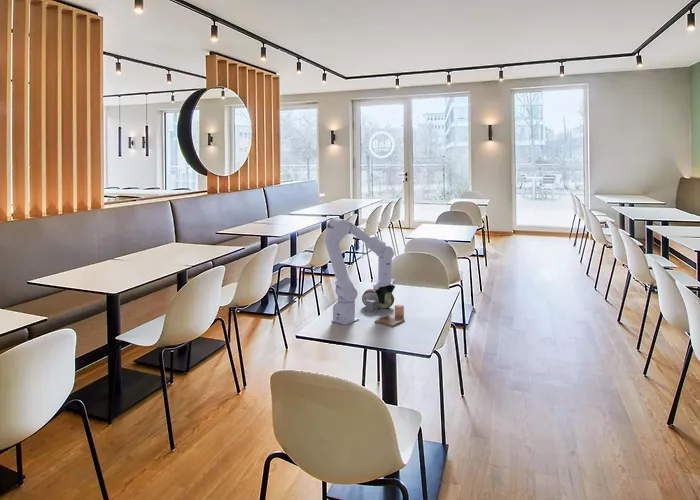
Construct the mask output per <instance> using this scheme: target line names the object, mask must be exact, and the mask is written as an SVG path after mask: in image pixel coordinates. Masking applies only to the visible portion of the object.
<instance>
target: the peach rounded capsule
mask: <svg viewBox="0 0 700 500" xmlns="http://www.w3.org/2000/svg"><path fill="white" fill-rule="evenodd" d="M394 317H396V318H400V319H404V318H405V305H402V304H396V305H394Z"/></svg>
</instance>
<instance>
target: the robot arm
mask: <svg viewBox="0 0 700 500" xmlns="http://www.w3.org/2000/svg"><path fill="white" fill-rule="evenodd" d="M347 235H353V236H355V237H356V238H358V239H359V240H360V241H362V242H364V246H365V247H366V248H367V249H368V250H370V251H372V252H373V253H374V254H376V256H377V257H378V258H377V259H378V260H377V262H378V266H377V267H378V270H377V271H378V273H377V274H378V277H377V281H376V283H375V284H373V285H372V287H373V288H372V289H373V290H375V292H376V294H377V296H378V300H379V303H381V304H384V300H385V293H386V292H391V295H392V294H393V292H394V290H395V288H396V285H395V284H396V283H397V281H396V279H395V278H392V262H393V257H395V256H394V255H395V251H394V250H393V247H392V246H390V245H386V244H387V243H386V242H384V241H382V240H381V239H379V237H378V236H377V235H369V234H367V233H366V232H364V231H363V230H362V229H361V228H360V227H358V226H357V225H355V224H354V223H353V222H350V221H349V220H348V219H342V218H339V217H332V218H331V219H329V221H328V223H326V234H325V240H324V242H325V243H324V244H325V246H326V250H327V254H328V256H329V260H330V263H331V266H332V270H333V274H334V276H335V280H336V281H335V282H334V284H335V294H336V295H337V301H336V303H334V305H333V307H332V319H331V322H333V323H337V324H340V325H341V324H342V325H345V326H346V325H349V324H351V323H354V322H356V321H358V320H360V318H359V317H356V315H355V314H356V308H355V307H356V304H355V303H356V301H355V300H356V299H357V298H358V290H357V289H356V288H355V287H354V283H353V282H352V280H351V279H350V276H349V273H348V271H347V268H346V267H347V266H346V263H345V260H344V257H343V255H342V250H341V247H340V243H341V241H342V240H343V239H344V238H345V237H346V236H347Z"/></svg>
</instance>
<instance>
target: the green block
mask: <svg viewBox="0 0 700 500" xmlns="http://www.w3.org/2000/svg"><path fill="white" fill-rule="evenodd" d="M378 306H381V307H385V308H386V307H388V306H391V292H386V293H385V300H384V304H381V303H379V300H378ZM391 307H392V306H391Z"/></svg>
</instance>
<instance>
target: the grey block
mask: <svg viewBox="0 0 700 500" xmlns="http://www.w3.org/2000/svg"><path fill="white" fill-rule="evenodd" d="M378 311H379V308H378V300H375V299H368V300H366V306H365V312H368V313H375V312H378Z"/></svg>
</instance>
